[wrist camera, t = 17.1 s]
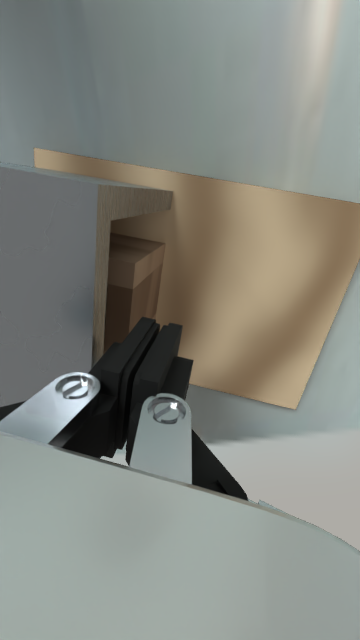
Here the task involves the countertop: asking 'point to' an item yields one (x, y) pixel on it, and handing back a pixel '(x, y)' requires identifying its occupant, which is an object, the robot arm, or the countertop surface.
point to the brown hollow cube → (131, 284)
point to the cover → (57, 270)
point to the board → (240, 273)
